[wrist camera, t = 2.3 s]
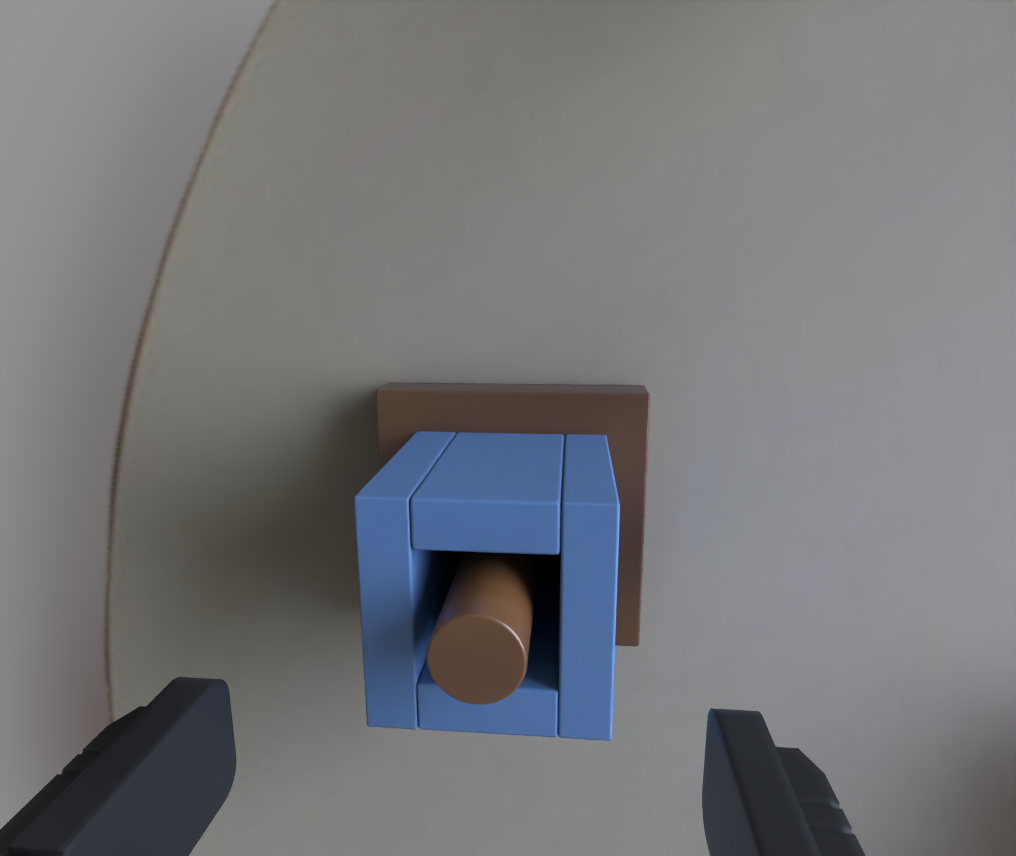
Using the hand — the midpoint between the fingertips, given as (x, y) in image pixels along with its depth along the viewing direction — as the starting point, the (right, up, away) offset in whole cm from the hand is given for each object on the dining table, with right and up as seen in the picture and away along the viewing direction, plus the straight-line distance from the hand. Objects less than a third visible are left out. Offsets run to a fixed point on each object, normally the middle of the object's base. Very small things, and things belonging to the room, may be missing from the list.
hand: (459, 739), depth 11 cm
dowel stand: (+1, +3, +11) cm, 11 cm away
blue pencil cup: (+1, +2, +9) cm, 10 cm away
